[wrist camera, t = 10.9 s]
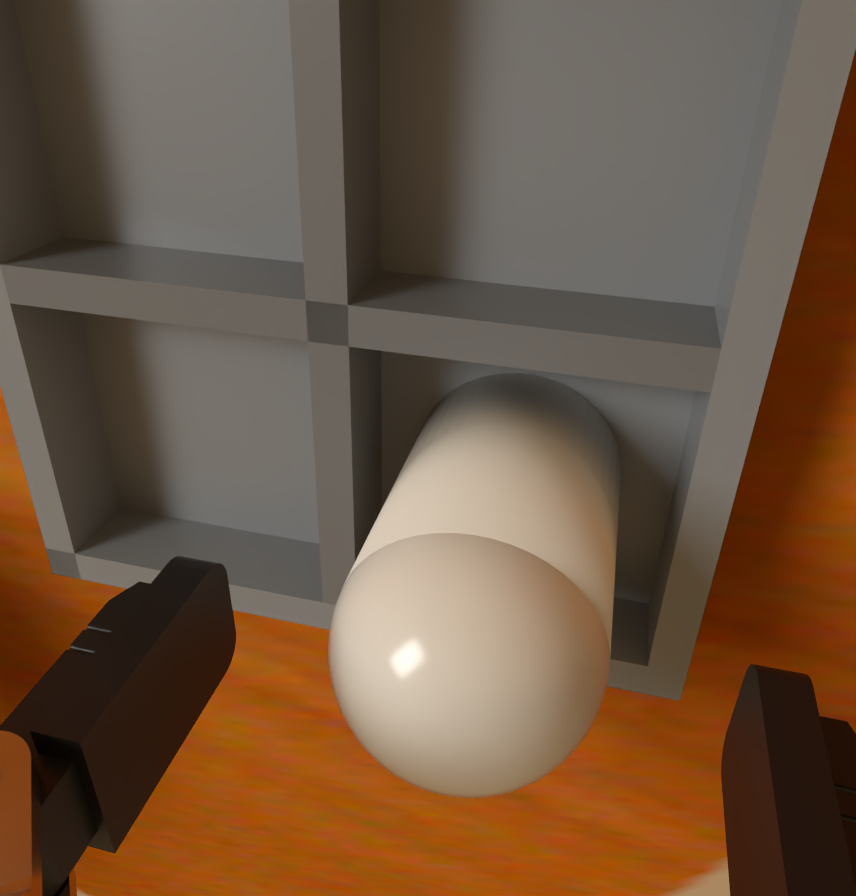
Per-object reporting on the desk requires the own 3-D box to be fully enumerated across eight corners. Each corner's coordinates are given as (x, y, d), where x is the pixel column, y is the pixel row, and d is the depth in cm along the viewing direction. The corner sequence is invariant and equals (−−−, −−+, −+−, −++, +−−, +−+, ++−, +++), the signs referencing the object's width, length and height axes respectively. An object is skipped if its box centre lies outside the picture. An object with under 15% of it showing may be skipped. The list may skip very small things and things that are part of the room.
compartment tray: (-44, -177, 14) (-166, -204, 12) (879, -187, 11) (929, -225, 9) (110, 517, 22) (52, 573, 20) (677, 621, 19) (679, 700, 17)
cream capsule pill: (418, 361, 17) (269, 610, 10) (634, 385, 16) (624, 674, 9) (418, 531, 19) (296, 825, 12) (606, 560, 18) (583, 892, 11)
